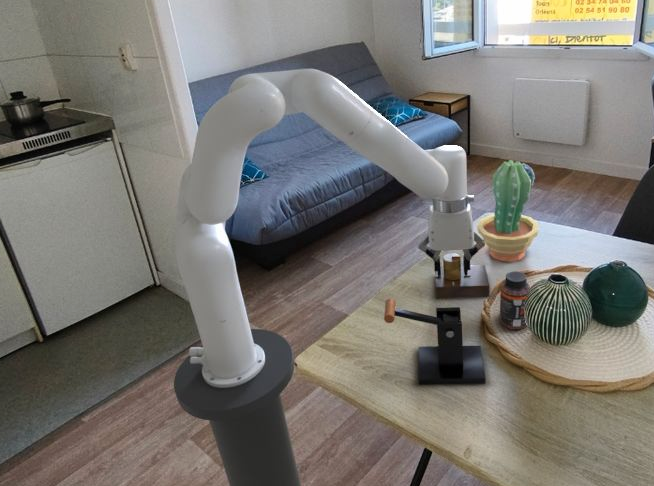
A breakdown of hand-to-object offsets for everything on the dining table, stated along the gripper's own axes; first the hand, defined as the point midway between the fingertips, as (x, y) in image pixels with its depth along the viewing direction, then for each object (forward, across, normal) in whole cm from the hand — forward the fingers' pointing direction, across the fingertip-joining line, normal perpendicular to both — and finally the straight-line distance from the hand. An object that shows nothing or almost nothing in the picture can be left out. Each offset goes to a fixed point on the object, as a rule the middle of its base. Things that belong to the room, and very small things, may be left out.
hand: (452, 272), depth 118 cm
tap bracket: (+4, +2, +27) cm, 27 cm away
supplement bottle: (+4, -12, +14) cm, 19 cm away
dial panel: (+4, -2, 0) cm, 5 cm away
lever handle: (-6, +7, +27) cm, 29 cm away
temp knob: (+1, 0, 0) cm, 1 cm away
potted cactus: (+4, -15, -15) cm, 22 cm away
